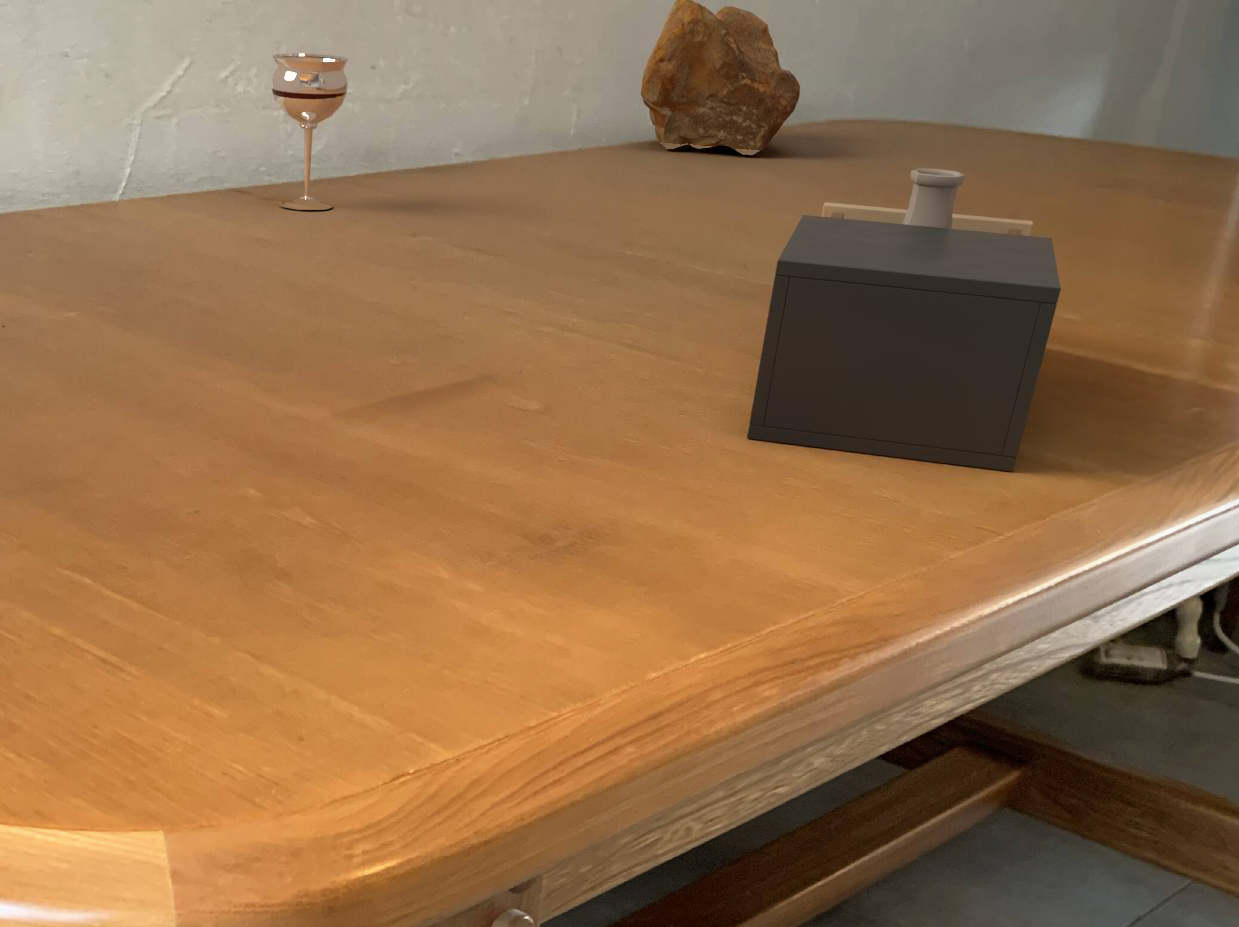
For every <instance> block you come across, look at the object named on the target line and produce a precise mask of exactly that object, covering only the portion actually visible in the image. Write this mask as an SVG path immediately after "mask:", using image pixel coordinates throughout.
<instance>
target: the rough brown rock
mask: <svg viewBox="0 0 1239 927" xmlns="http://www.w3.org/2000/svg"><path fill="white" fill-rule="evenodd" d="M800 95H801V85H800V83H799V81H798V79H797V78H796V76H795V75H794V74H793V73H792V72H791V71H790V70H787V69H783V68H782V67H781V64H780V59H779V52H778V51H777V49H776V48H775V45H774V40H773V37H772V35H771V34H770V30H769V25H768V24H767V23H766V22H765V21H764V20H762V19H761V18H760V17H759V16H758V15H756V14H755V13H753V12H751V11H749V10H746V9H743V8H739V7H735V6H732V5H731V6H724V7H722V8H720V9H719V10H718V11H717V12H716V13H714V12H712V11H711V10H710V9H708V8H707V7H706V6H704V5H702V4H701V3H698V2H695V1H694V0H676V1H675V2H674V3H673V5H672V7H671V9H670V11H669V13H668V16H667V18H666V20H665V22H664V25H663V27H662V29H661V31H660V34H659V36H658V38H657V41H656V43H655V46H654V47H653V49H652V52H651V54H650V56H649V58H648V60H647V62H646V66H645V67H644V70H643V74H642V78H641V88H640V96H641V98H642V102H643V105H645V107H646V108H648V114H649V118H650V119H649V120H650V122H651V124H652V125H653V126H654V132H655V135H656V140H657V141H658V143H659V142H663V143H673V144H680V145H681V144H685V143H686V144H687V143H688V144H693V145H700V146H712V147H714V148H716V147H718V146H725V147H729V148H731V149H732V150H733V149H747V150H749V149H751V150H761V149H764V150H766V149H767V148H768V146H769V144H770V143H771V141H772V140H773V138H774V137H775V135H776V134H777V133H778V132H779V130H780V129H781V128H782V126H783V124H784V123H785V122H786V121H787V120H788V119H789V117H791V115H792V114H793V113H794V112H795V109H796V107H797V104H798V102H799V99H800ZM715 146H716V147H715Z"/></svg>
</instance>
